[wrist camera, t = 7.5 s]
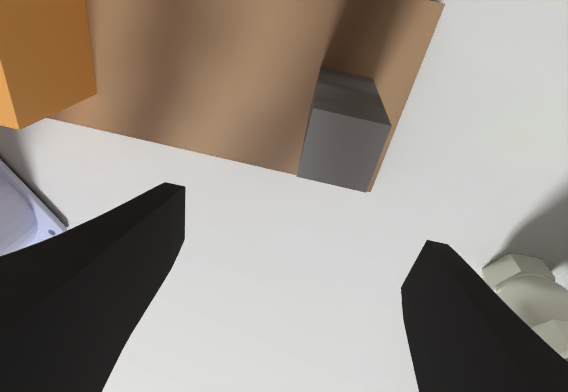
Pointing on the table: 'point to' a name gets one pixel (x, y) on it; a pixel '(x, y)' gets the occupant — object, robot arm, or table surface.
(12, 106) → the cube
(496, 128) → the table surface
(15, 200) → the robot arm
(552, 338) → the valve
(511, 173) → the table surface
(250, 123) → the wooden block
